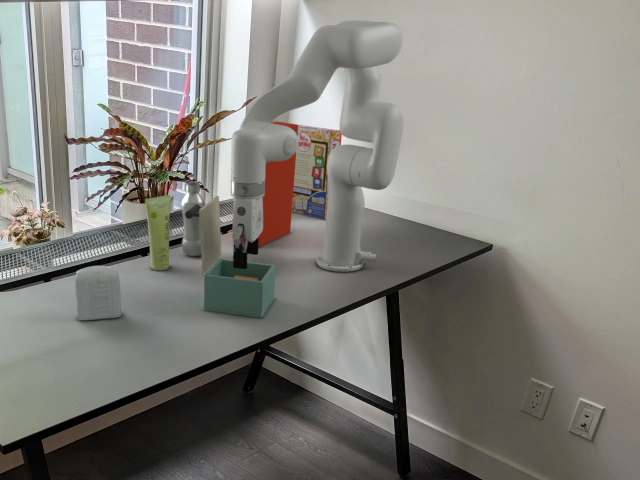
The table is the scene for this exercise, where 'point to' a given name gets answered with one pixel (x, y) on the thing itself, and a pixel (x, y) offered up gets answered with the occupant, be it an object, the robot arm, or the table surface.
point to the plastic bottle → (191, 221)
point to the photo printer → (98, 293)
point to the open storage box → (239, 288)
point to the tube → (158, 231)
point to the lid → (208, 231)
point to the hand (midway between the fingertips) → (245, 260)
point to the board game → (313, 169)
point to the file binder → (278, 196)
